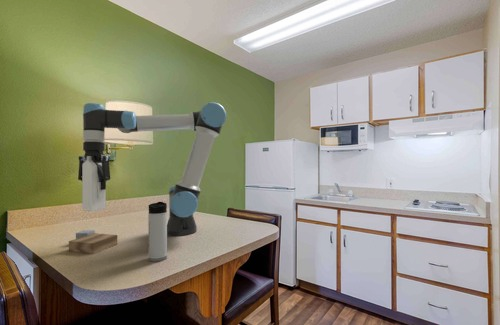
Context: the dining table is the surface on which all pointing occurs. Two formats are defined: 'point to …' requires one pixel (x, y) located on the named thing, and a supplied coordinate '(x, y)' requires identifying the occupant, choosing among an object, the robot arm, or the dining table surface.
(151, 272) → the dining table surface
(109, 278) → the dining table surface
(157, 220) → the travel mug
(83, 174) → the milk
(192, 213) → the robot arm
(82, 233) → the grey block
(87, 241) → the stand
